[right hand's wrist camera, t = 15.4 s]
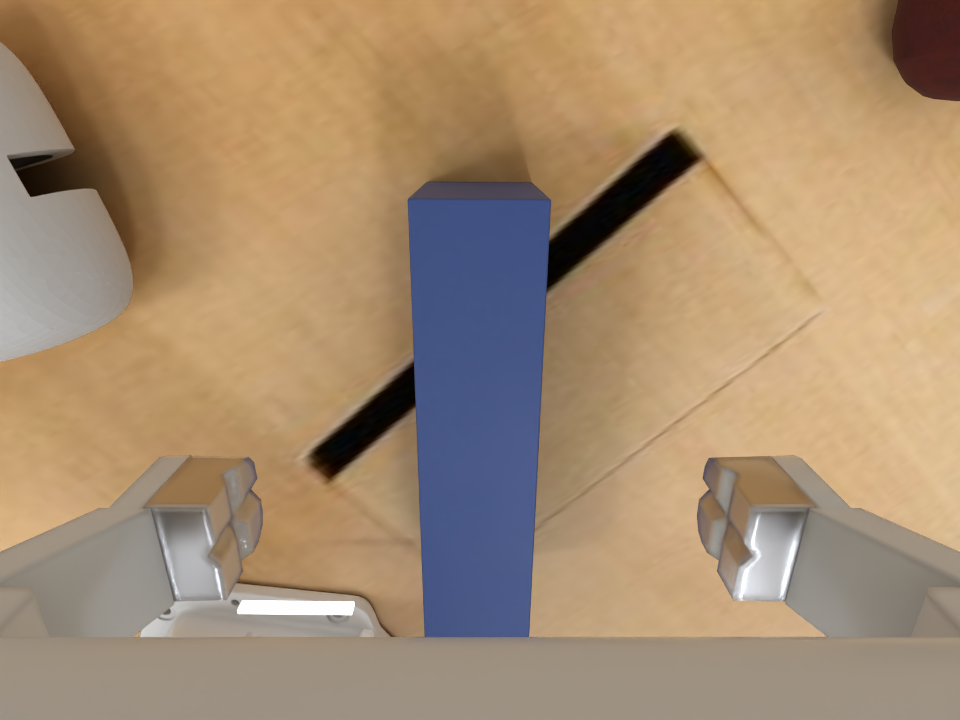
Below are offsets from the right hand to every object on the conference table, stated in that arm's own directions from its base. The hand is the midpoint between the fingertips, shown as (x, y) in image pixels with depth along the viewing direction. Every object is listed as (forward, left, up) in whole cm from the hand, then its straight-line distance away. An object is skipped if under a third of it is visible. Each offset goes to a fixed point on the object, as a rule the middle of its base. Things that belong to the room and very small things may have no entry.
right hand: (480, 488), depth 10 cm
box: (+3, -10, -26) cm, 28 cm away
